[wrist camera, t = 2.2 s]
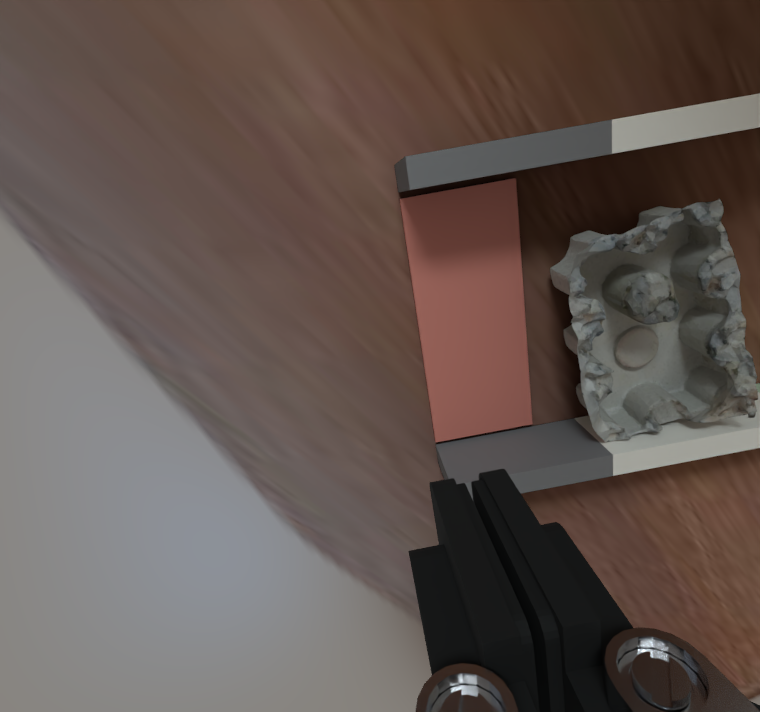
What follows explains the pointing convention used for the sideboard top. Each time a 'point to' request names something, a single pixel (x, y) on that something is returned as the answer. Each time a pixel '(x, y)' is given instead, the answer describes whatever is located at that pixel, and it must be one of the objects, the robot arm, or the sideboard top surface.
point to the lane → (507, 310)
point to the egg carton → (658, 322)
